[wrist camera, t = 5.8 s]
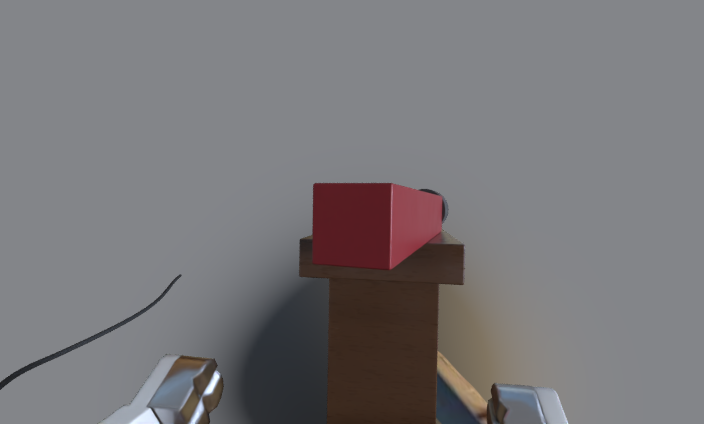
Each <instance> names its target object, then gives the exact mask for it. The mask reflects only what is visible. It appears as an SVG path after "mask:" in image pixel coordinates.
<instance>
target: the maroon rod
mask: <svg viewBox="0 0 704 424" xmlns="http://www.w3.org/2000/svg"><path fill="white" fill-rule="evenodd" d="M447 215H448V204H447V202H446V200H445V198H444V197H443V196H442V195H441V194H439V193H438V192H435V191H432V190H429V189H421V190H416V189H412V188H408V187H404V186H400V185H396V184H392V183H315V184H314V185H313V240H312V263H313V264H316V265H329V266H341V267H354V268H366V269H379V270H391V269H393V268H394V267H395V266H396V265H398V264H399V263H400V262H402V261H403V260H404V259H406V258H407V257H408V256H410V255H411V254H412V253H414V252H415V251H416V250H418V249H419V248H420V247H422V246H423V245H424V244H426V243H427V242H428V241H430V240H431V239H432V238H434V237H435V236H436V235H437V234H439V233H440V232H441V231H442V228H441V227H442V223H443V222H444V221H445V220H446V218H447Z"/></svg>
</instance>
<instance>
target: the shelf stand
mask: <svg viewBox="0 0 704 424" xmlns="http://www.w3.org/2000/svg"><path fill="white" fill-rule="evenodd" d="M312 240H313V235H311V236H308V237H305V238H302V239H300V257H299V258H300V261H299V276H300V277H312V278H329V330H328V392H327V424H436V391H437V349H438V310H439V284H454V285H463V284H464V269H465V268H464V267H465V245H464V244H463V243H461V242H460V241H458V240H457V239H455V238H454V237H453V236H451V235H450V234H448V233H447V232H445V231H444V230H442V231H441V232H440V233H439V234H437V235H436V236H435V237H434V238H432V239H431V240H430V241H428V242H427V243H426V244H424V245H423V246H422V247H420V248H419V249H418V250H416V251H415V252H414V253H412V254H411V255H410V256H408V257H407V258H406V259H404V260H403V261H402V262H400V263H399V264H398V265H396V266H395V267H394V268H393V269H391V270H379V269H366V268H354V267H341V266H329V265H316V264H313V263H312Z"/></svg>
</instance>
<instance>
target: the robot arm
mask: <svg viewBox="0 0 704 424" xmlns="http://www.w3.org/2000/svg"><path fill="white" fill-rule="evenodd" d="M180 277H181V275H179V276H177V277H176V278H175V279H174V280H173V281H172V282H171V284H170V285H169V286H168V287H167V289H166V290H165V291H164V292H163V294H162V295H161V296H160V297H158V298H157V299H156V300H155V301H154V302H153V303H151V304H150V305H149V306H147V307H146V308H144V309H143V310H141V311H140V312H138V313H136V314H134V315H133V316H131V317H129V318H127V319H126V320H124V321H122V322H120V323H118V324H116V325H114V326H112V327H110V328H108V329H106V330H104V331H102V332H100V333H98V334H96V335H94V336H91V337H90V338H88V339H85V340H83V341H81V342H79V343H76V344H74V345H72V346H70V347H68V348H66V349H63V350H61V351H59V352H57V353H55V354H52V355H50V356H47V357H45V358H43V359H40V360H38V361H36V362H33V363H31V364H29V365H27V366H25V367H24V368H21V369H20V370H18V371H16V372H14V373H13V374H11V375H10V376H8V377H7V378H5V379H4V380H3V381H1V382H0V390H1V389H2V388H3V387H4V386H5V385H7V384H8V383H9V382H11V381H12V380H13V379H15V378H16V377H18V376H20V375H21V374H23V373H25V372H27V371H29V370H31V369H32V368H35V367H37V366H39V365H41V364H43V363H46V362H48V361H50V360H52V359H55V358H57V357H59V356H61V355H63V354H66V353H68V352H70V351H72V350H74V349H76V348H78V347H80V346H82V345H84V344H87V343H88V342H91V341H92V340H95V339H97V338H99V337H101V336H103V335H105V334H107V333H109V332H111V331H113V330H115V329H117V328H118V327H120V326H122V325H124V324H126V323H127V322H129V321H131V320H133V319H135V318H136V317H138V316H139V315H141V314H143V313H144V312H146V311H147V310H148V309H150V308H151V307H152V306H154V305H155V304H156V303H157V302H158V301H160V300H161V299H162V298H163V297H164V295H165V294H166V293H167V292H168V291H169V289H170V288H171V287H172V285H173V284H174V283H175V282H176V281H177V279H179V278H180ZM216 368H217V363H216V361H215V359H212V358H202V357H191V356H183V355H171V354H166V355H165V356H163V357H162V358H161V359H160V360H159V362H158V363H157V365H156V366H155V368H154V369H153V371H152V372H151V373H150V375H149V376H148V378H147V379H146V381H145V382H144V384H143V385H142V387H141V388H140V390H139V391H138V393H137V394H136V396H135V397H134V398H133V400H132V401H131V403H130V404H129V405H123V406H122V407H121V408H119V409H118V410H116V411H115V412H113V413H112V414H111V415H109V416H108V417H107V418H105V419H103V420H102V421H101V422H99V423H98V424H209V423H210V418H209V413H210V412H211V411H212V410H214V409H215V408H216V407H217V406H218V404H219V401H220V399H221V396H222V392H223V387H224V386H223V378H222V375H221V374H220V373H218V372H217V371H216ZM491 394H492V398H491V399H490V400H488V405H487V424H568V422H567V419H566V417H565V414H564V411H563V409H562V406H561V403H560V400H559V398H558V395H557V393H556V392H555V390H554V389H552V388H544V387H532V386H524V385H510V384H497V383H494V384H493V385H492V388H491Z"/></svg>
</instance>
